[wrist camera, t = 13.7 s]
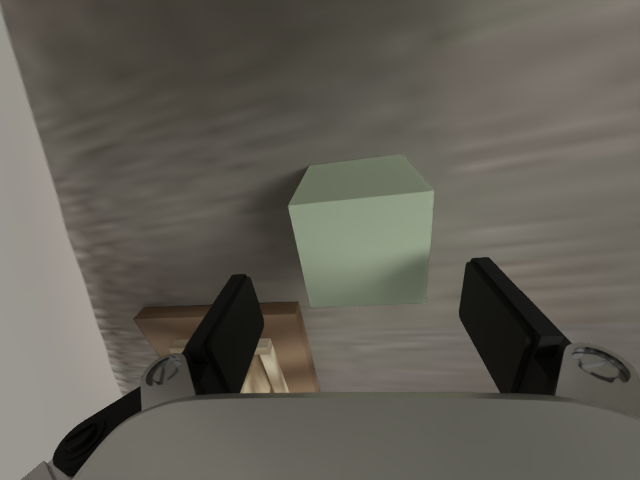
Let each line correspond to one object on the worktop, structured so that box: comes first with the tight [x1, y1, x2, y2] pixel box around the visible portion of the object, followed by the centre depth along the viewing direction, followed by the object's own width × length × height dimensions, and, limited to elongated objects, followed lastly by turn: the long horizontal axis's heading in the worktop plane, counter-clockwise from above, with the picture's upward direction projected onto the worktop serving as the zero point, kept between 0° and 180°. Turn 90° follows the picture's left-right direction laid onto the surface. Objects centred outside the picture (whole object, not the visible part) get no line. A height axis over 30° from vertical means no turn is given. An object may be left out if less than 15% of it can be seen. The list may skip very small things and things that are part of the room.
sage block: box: [288, 154, 434, 308], centre depth 15 cm, size 6×6×7 cm
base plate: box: [133, 302, 320, 393], centre depth 27 cm, size 16×16×2 cm
